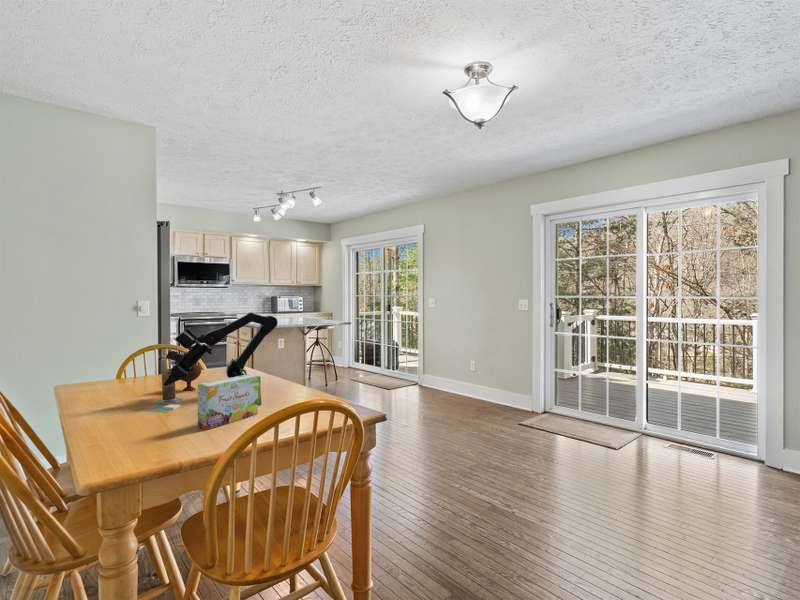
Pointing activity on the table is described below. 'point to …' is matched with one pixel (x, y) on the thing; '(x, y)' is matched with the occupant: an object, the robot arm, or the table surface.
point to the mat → (163, 408)
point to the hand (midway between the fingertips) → (164, 384)
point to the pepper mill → (168, 390)
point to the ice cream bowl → (191, 377)
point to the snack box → (227, 401)
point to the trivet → (168, 401)
